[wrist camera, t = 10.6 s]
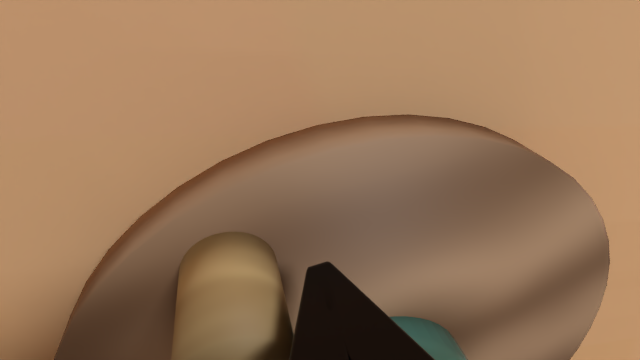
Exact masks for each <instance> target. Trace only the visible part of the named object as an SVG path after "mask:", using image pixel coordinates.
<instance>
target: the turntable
mask: <svg viewBox="0 0 640 360" xmlns="http://www.w3.org/2000/svg"><path fill="white" fill-rule="evenodd" d="M326 261H328V262H331V263H332V264H333V265H334V266H335V267H336V268H337V269H338V270H339V271H341V272H342V273H343V274H344V275H345V276H346V277H347V278H348V279H349V280H350V281H351V282H352V283H353V284H355V285H356V286H357V287H358V288H359V289H360V290H361V291H362V292H363V293H364V294H365V295H366V296H367V297H368V298H370V299H371V300H372V301H373V302H374V303H375V304H376V305H377V306H378V307H379V308H380V309H381V310H382V311H383V312H385V313H386V314H387V315H388V316H389V317H393V316H408V317H416V318H422V319H426V320H430V321H432V322H435V323H437V324H439V325H441V326H442V327H444V328H445V329H447V330H448V331H449V332H450V333H451V334H452V335H453V337H454V338H455V340H456V342H457V343H458V345H459V346H460V348H461V349H462V351H463V352H464V354H465V355H466V357H467V359H468V360H570V359H571V357H572V356H573V355H574V353H575V352H576V351H577V349H578V348H579V346H580V344H581V343H582V341H583V339H584V338H585V336H586V334H587V333H588V331H589V329H590V328H591V325H592V323H593V321H594V319H595V317H596V314H597V312H598V310H599V308H600V305H601V302H602V299H603V295H604V292H605V289H606V286H607V279H608V272H609V265H610V258H609V240H608V236H607V232H606V228H605V225H604V221H603V218H602V216H601V214H600V212H599V211H598V209H597V207H596V205H595V203H594V201H593V199H592V198H591V197H590V196H589V194H588V193H587V192H586V191H585V190H584V189H583V188H582V187H581V185H580V184H579V183H578V182H577V181H576V180H575V179H574V178H573V177H571V176H570V175H568V174H567V173H566V172H564V171H563V170H561V169H560V168H558V167H557V166H556V165H554V164H553V163H551V162H550V161H548V160H547V159H545V158H543V157H542V156H540V155H538V154H537V153H535V152H533V151H532V150H530V149H528V148H527V147H525V146H523V145H522V144H520V143H518V142H517V141H515V140H513V139H511V138H508V137H506V136H504V135H502V134H499V133H497V132H495V131H492V130H490V129H488V128H486V127H482V126H478V125H474V124H470V123H466V122H462V121H458V120H454V119H450V118H441V117H430V116H418V115H391V116H371V117H360V118H355V119H349V120H344V121H338V122H332V123H327V124H321V125H316V126H313V127H309V128H306V129H303V130H300V131H297V132H293V133H290V134H287V135H284V136H280V137H277V138H274V139H271V140H268V141H265V142H263V143H261V144H259V145H256V146H254V147H252V148H250V149H247V150H245V151H243V152H241V153H238V154H236V155H234V156H232V157H229V158H227V159H225V160H223V161H221V162H219V163H217V164H216V165H214V166H212V167H211V168H209V169H207V170H206V171H204V172H202V173H201V174H199V175H197V176H196V177H194V178H192V179H191V180H189V181H187V182H186V183H184V184H182V185H181V186H179V187H177V188H176V189H175V190H174V191H172V192H171V193H170V194H169V195H167V196H166V197H165V198H163V199H162V200H161V201H160V202H158V203H157V204H156V205H155V206H153V207H152V208H151V209H150V210H148V211H147V212H146V213H144V214H143V215H142V216H141V217H140V218H139V219H138V220H137V221H136V222H135V223H134V224H133V225H132V226H131V227H130V228H129V229H128V230H127V231H126V232H125V233H124V234H123V235H122V236H121V237H120V238H119V239H118V240H117V242H116V243H115V244H114V245H113V246H112V247H111V248H110V249H109V250H108V252H107V253H106V254H105V256H104V257H103V259H102V260H101V262H100V263H99V264H98V266H97V267H96V269H95V270H94V272H93V273H92V274H91V276H90V277H89V279H88V280H87V282H86V284H85V286H84V288H83V290H82V292H81V294H80V296H79V299H78V301H77V303H76V305H75V307H74V309H73V312H72V314H71V316H70V319H69V321H68V324H67V327H66V329H65V332H64V335H63V337H62V340H61V343H60V345H59V348H58V350H57V353H56V356H55V358H54V360H289V357H290V352H291V347H292V342H293V337H294V332H295V326H296V321H297V316H298V311H299V306H300V301H301V296H302V291H303V286H304V280H305V275H306V271H307V268H308V267H310V266H313V265H316V264H320V263H323V262H326Z"/></svg>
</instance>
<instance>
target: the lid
mask: <svg viewBox="0 0 640 360" xmlns="http://www.w3.org/2000/svg"><path fill="white" fill-rule="evenodd" d="M390 318H391V319H392V320H393V321H394V322H395V323H396V324H397V325H398V326H400V327H401V328H402V329H403V330H404V331H405V332H406V333H407V334H408V335H409V336H410V337H411V338H412V339H413V340H415V341H416V342H417V343H418V344H419V345H420V346H421V347H422V348H423V349H424V350H425V351H426V352H427V353H429V354H430V355H431V356H432V357H433V358H434V359H435V360H468V359H467V357H466V355H465V354H464V352H463V351H462V349H461V348H460V346H459V345H458V343H457V342H456V340H455V338H454V337H453V335H452V334H451V333H450V332H449V331H448V330H447V329H445V328H444V327H442V326H441V325H439V324H437V323H435V322H432V321H430V320H426V319H422V318H416V317H408V316H393V317H390Z"/></svg>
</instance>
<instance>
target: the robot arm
mask: <svg viewBox="0 0 640 360" xmlns="http://www.w3.org/2000/svg"><path fill="white" fill-rule="evenodd" d="M289 360H435V359H434V358H433V357H432V356H431V355H430V354H429V353H427V352H426V351H425V350H424V349H423V348H422V347H421V346H420V345H419V344H418V343H417V342H416V341H415V340H413V339H412V338H411V337H410V336H409V335H408V334H407V333H406V332H405V331H404V330H403V329H402V328H401V327H400V326H398V325H397V324H396V323H395V322H394V321H393V320H392V319H391V318H390V317H389V316H388V315H387V314H386V313H385V312H383V311H382V310H381V309H380V308H379V307H378V306H377V305H376V304H375V303H374V302H373V301H372V300H371V299H370V298H368V297H367V296H366V295H365V294H364V293H363V292H362V291H361V290H360V289H359V288H358V287H357V286H356V285H355V284H353V283H352V282H351V281H350V280H349V279H348V278H347V277H346V276H345V275H344V274H343V273H342V272H341V271H339V270H338V269H337V268H336V267H335V266H334V265H333V264H332V263H331V262H328V261H326V262H323V263H320V264H316V265H313V266H310V267H308V268H307V271H306V275H305V280H304V286H303V291H302V296H301V301H300V306H299V311H298V316H297V321H296V326H295V332H294V337H293V342H292V347H291V352H290V357H289Z"/></svg>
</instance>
